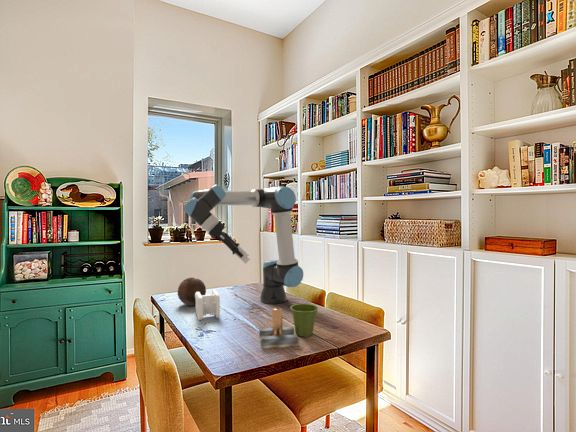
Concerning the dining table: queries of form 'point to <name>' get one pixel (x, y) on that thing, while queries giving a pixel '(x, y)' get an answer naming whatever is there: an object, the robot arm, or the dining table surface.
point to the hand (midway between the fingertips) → (247, 259)
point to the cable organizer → (207, 304)
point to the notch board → (277, 338)
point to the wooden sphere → (190, 290)
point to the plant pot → (304, 318)
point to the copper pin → (277, 321)
